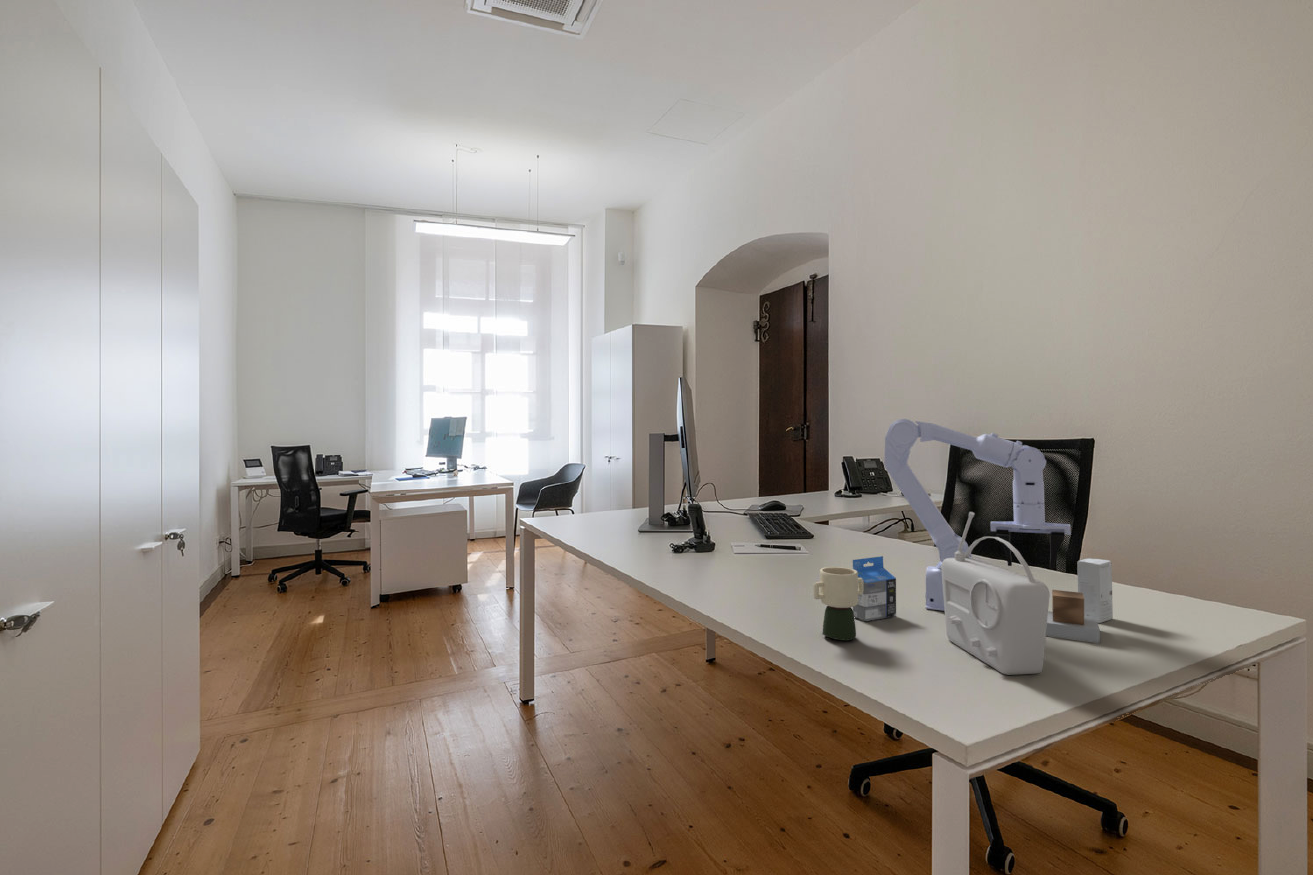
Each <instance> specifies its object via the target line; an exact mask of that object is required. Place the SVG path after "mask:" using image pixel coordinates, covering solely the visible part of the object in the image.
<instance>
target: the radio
mask: <svg viewBox="0 0 1313 875" xmlns="http://www.w3.org/2000/svg"><path fill="white" fill-rule="evenodd" d="M975 515H976V514H975V512H973V511H969V512H968V517H967V521H966V524H965V528H964V530H963V533H962V537H961V538H962V539H961V542H960V544H959V547H958V551H957V552H955V558H947V559H945V560H943V562H942V566H941V569H942V582H943V595H944V608H945V611H944V617H945V618H944V620H945V630H946V631H945V634H946V636H947V639H948V640H949V641H950V642H951V643H953V644H955V645H956V646H958V647H959V648H962V650H964V651H966V653H967V652H968V653H969V654H970V655H972V656H974V657H976V658H977V659H979V660H980V661H982V662H983V663H985V664H986V665H988V666H990V667H991V668H993V669H995V670H996V671H997V672H1000V673H1001V674H1002V675H1003V674H1004V675H1008V676H1010V675H1012V676H1014V675H1015V676H1016V675H1037V674H1039V673H1041V672H1042V671H1043V666H1044V657H1045V656H1044V655H1045V648H1046V647H1045V645H1046V638H1047V636H1046V627H1047V617H1048V611H1049V605H1050V597H1051V596H1050V594H1051V593H1050V590H1049V587H1048V586H1047V585H1046V583H1044V582H1043V581H1041V580H1038V579H1036V578H1034V576H1033V574H1032V570H1031V569H1030V566H1029V564H1028V563H1027V562H1026V560H1025V559H1024V557H1023V556H1022V554H1021V553H1020V551H1019V550H1018V549H1017V548H1015V546H1013V545H1012V544H1011V542H1010V543H1009V542H1007V541H1005V540H1003V539H1001V538H999V537H997V536H982V537H980V538H978V539H975V540H974V541H973V542H972V544H970V545H969V546H968V547H969V548H968V550H967V552H966V553H964V552H963V551H962V550H961V549H962V546H963V543H964V540H965V541H966V538H967V534H968V531H969V528H970V525H971V523H972V520H973V518H974V517H975ZM986 539H995V540H996V541H999V543H1000V542H1002V543H1004V544H1005V545H1006V546H1007V547H1008V548H1009V549H1010V550H1011V552H1013V554H1014V556H1015V557H1016V558H1017V560H1018V561H1019V563H1020V565H1021V566H1022V568H1023V570H1024V573H1025V575H1024V574H1022V573H1019V572H1016V571H1013V570H1011V569H1007V568H1004V567H1001V566H999V565H996V564H993V563H990V562H988V561H984V560H982V559H980V558H976V557H972V558H969V556H970V554H971V555H972V552H973V550H974V548H975V547H976V546H977V545H978V544H979V543H980V542H981V541H983V540H986Z"/></svg>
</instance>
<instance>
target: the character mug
mask: <svg viewBox="0 0 1313 875" xmlns="http://www.w3.org/2000/svg"><path fill="white" fill-rule="evenodd" d="M863 591H864V586H863V579H862V578H858V572H857V571H856V570H854V569H853V568H849V567H841V566H827V567H826V566H825V567H822V568H820V570H819V581H816V582H814V583H813V598H814V600H820V601H821V603H822V604H823V605H826V608H825V610H824V616H823V623H822V635H823V636H826V637H829V638H831V639H832V638H834V639H833V640H838V641H839V640H840V641H851V640H854V639H855V638H857V631H856V630H857V628H856V622H855V618H854V614H853V607H854V606H856V605H857V604H858V595H861V594H863Z"/></svg>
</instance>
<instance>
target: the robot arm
mask: <svg viewBox="0 0 1313 875" xmlns="http://www.w3.org/2000/svg"><path fill="white" fill-rule="evenodd" d="M918 438H920V443H924V442H931V441H937V442H941V443H945V444H948V445H951V446H955V447H958V448H961V449H965V450H969V451H971V452H972V454H973V456H974V458H976V459H977V460H980V461H983V462H987V463H990V464H994V465H996V466H1000V467H1003V468H1007V469H1008V468H1010V467H1011V468H1012V469H1013V480H1012V499H1013V500H1012V502H1013V504H1012V505H1013V509H1012V510H1013V521H1010V520H1009V521H990V523H989V524H990V532H996V534H995V535H996V537H999V538H1001V539H1003V540H1005V541H1007V542H1009V543H1010V544H1011V533H1012V532H1014V533H1033V534H1049V544H1050V546H1049V547H1050V556H1049V569H1051V570H1054V569H1055V565H1056V559H1057V555H1058V553H1059V551H1060V548H1061V546H1062V544H1063V542H1064V540H1065V539H1066V538H1065V535H1067V536H1069V535H1070V536H1071V534H1072V533H1071V524H1069V523H1068V524H1067V523H1065V524H1064V523H1054V522H1053V523H1052V522H1046V518H1045V517H1046V512H1045V508H1046V507H1045V482H1044V472H1043V470H1044V469H1045V467H1046V466H1047V459H1046V458H1045V455H1044V453H1043V451H1042V450H1040V449H1038V448H1036V447H1034V446H1033V447H1032V446H1029V445H1026V444H1023V442H1022V441H1020V440H1016V441H1012V440H1008V439H1005V438H1001V437H999V434H997V433H994V432H991V433H990V434H988V433H983V434H981V435H979V436H977V437H976V436H973V435H970V434H967V433H964V432H960V431H958V430H955V429H951V428H948V427H945V426H943V425H942V426H941V425H938V424H936V423H931V422H924V421H917V420H915V422H914V421H913V420H910V419H908V418H900V419H896V420H895V421H893V422H891V423H890V425H889V427H888V429H887V432H886V434H885V436H884V458H883V460H884V462H883V463H884V467H885V470H886V471H887V473H888V474H889V475H890V477H891V479H892V480H893V482H894V483H895V485H896V487H898V490H899V491H900V492H901V493H902V496H904V499H905V500H906V501H907V503H908V504H909V505H910V508H911V509H912V510H913V512H914V513H915V515H916V516H917V518H918V519H919V520H920V522H921V523H922V525H923V527H924V528H925V529H926V531H927V532H928V535H929V536H930V538H931V539H932V542H933V544H934V546H936V548H937V551H938V557H939V560H940V561H938V562H937V563H936V566H934V565H933V566H931V565H929V566H927V567H926V572H925V596H924V597H925V609H927V610H934V611H935V610H936V611H942V612H945V608H944V595H943V582H942V569H941V566H942V562H943V560H945V559H947V558H955V552H957V551H958V547H959V544H960V542H961V539H962V537H961V536H960V535H958V534H956V533H955V531H954V530H953V528H952V527H951V526H950V524H949V523H948V522H947V520H946V518H945V517H944V515H943V514H942V513H941V511H940V510H939V508H938V507H937V505H936V504H935V502H934V501H933V499H932V498H931V497H930V495H929V494H928V492H927V490H926V489H925V487H924V486H923V484H922V483H921V482H920V480H919V479H918V477H917V476H916V474H915V473H914V472H913V470H912V469H911V467H910V465H909V464H908V460H909V458H910V453H911V449H912V447H913V446H914V445H915V443H916V442H917V440H918ZM1041 451H1042V452H1041ZM999 543H1000V545H1001V547H1002V549H1003V552H1004V555H1005V558H1006V561H1007V566H1008V567H1012V565H1013V561H1012V560H1013V559H1012V551H1011V550H1010V549H1009V548H1008V547H1007V546H1006V545H1005V544H1004V543H1002V542H1000V541H999ZM969 547H970V546H969V544H968V543H967V541H966V539H965V540H964V543H963V546H962V549H961V550H962V551H963V552H964V553H966V552H967V550H968V548H969ZM969 558H973V557H972V553H971V554H970V556H969Z"/></svg>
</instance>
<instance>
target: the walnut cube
mask: <svg viewBox="0 0 1313 875" xmlns="http://www.w3.org/2000/svg"><path fill="white" fill-rule="evenodd" d="M1051 591H1052V593H1051V594H1052V598H1051V599H1052V601H1051V602H1052V603H1051V604H1052V606H1051V607H1052V612H1053V621H1055V622H1063V623H1071V624H1079V625H1084V597H1083V593H1079V592H1078V591H1068V590H1058V589H1052V590H1051Z"/></svg>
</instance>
